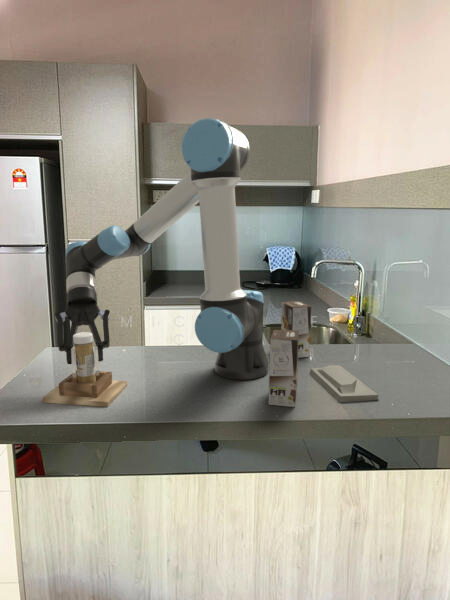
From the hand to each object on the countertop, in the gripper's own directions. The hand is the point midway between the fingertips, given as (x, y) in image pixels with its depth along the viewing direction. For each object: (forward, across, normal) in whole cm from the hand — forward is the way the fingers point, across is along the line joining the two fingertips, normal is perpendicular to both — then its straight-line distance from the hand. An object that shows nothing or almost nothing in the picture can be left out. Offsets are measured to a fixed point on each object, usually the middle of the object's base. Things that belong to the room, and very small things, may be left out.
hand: (85, 374), depth 109 cm
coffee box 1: (-8, -63, -18) cm, 66 cm away
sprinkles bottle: (+1, 0, -6) cm, 6 cm away
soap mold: (+12, -63, +2) cm, 64 cm away
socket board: (+2, 0, -7) cm, 7 cm away
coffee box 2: (+14, -45, +4) cm, 47 cm away
